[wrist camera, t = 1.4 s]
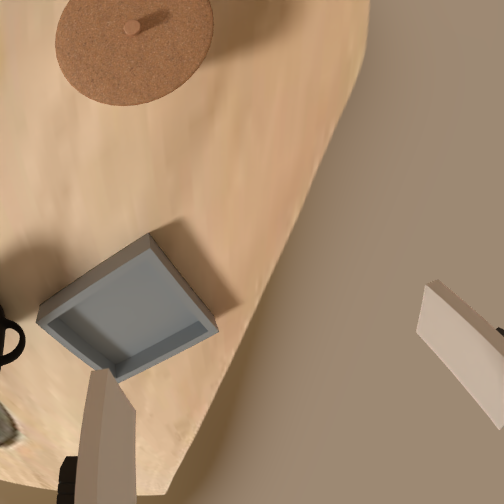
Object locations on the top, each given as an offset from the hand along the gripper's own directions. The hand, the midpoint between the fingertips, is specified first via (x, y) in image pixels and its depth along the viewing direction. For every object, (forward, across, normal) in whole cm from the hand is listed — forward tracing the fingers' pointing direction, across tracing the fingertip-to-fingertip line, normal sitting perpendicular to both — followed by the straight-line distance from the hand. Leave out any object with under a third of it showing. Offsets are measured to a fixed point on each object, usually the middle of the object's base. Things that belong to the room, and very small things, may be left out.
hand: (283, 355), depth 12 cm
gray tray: (+24, -13, -12) cm, 30 cm away
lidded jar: (+21, -5, +16) cm, 27 cm away
